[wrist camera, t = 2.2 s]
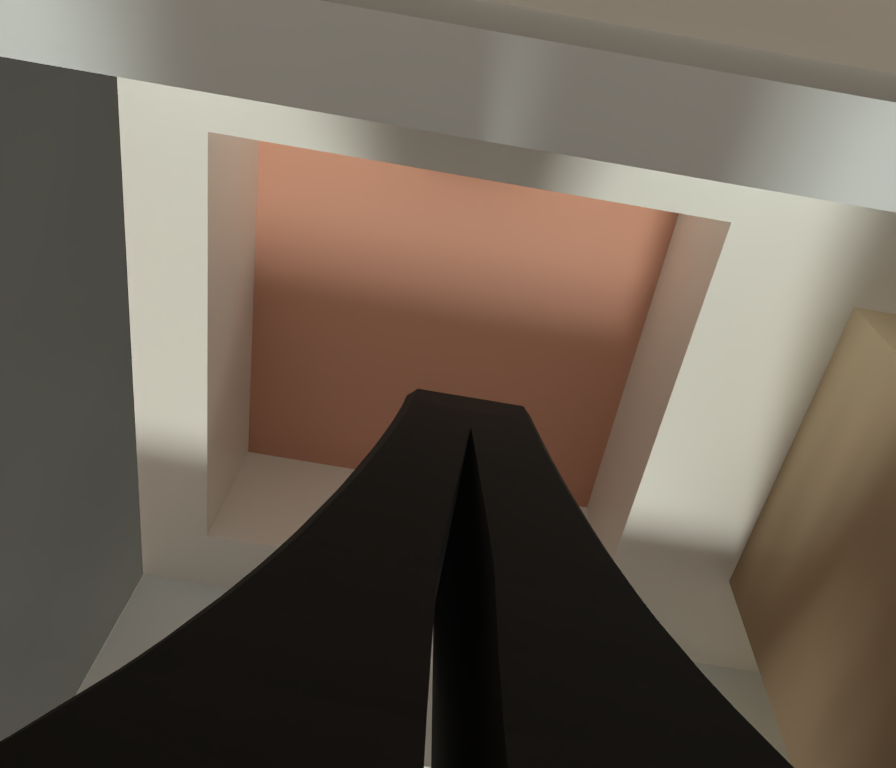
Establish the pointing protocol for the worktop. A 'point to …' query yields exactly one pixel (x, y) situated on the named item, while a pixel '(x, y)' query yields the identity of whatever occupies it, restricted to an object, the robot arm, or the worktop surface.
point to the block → (832, 564)
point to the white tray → (486, 261)
